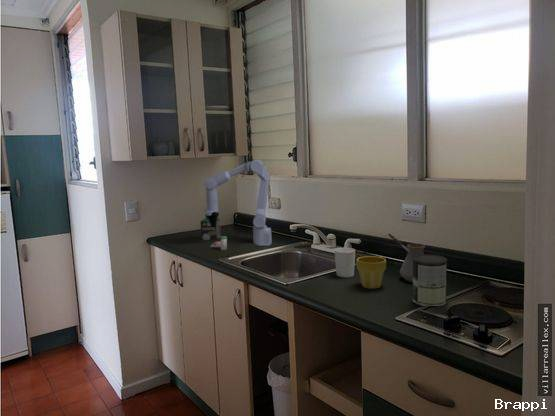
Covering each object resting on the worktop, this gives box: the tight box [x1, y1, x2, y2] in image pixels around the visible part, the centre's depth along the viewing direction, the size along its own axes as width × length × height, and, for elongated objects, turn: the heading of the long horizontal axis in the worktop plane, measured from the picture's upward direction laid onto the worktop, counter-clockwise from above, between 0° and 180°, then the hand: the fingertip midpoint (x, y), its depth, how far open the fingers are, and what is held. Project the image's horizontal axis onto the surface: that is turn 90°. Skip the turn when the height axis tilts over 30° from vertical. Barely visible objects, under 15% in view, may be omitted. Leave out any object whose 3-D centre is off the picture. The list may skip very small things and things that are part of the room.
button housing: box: [210, 242, 221, 248], centre depth 226 cm, size 6×6×2 cm
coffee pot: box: [385, 233, 426, 283], centre depth 166 cm, size 21×12×15 cm, turn 26°
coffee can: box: [412, 254, 448, 307], centre depth 139 cm, size 10×10×14 cm
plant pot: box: [355, 255, 387, 290], centre depth 157 cm, size 10×10×10 cm
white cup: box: [334, 247, 356, 278], centre depth 171 cm, size 8×8×10 cm
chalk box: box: [199, 213, 222, 241], centre depth 245 cm, size 9×9×15 cm
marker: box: [219, 235, 228, 251], centre depth 217 cm, size 3×3×7 cm
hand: (213, 227), depth 229 cm, fingers closed
